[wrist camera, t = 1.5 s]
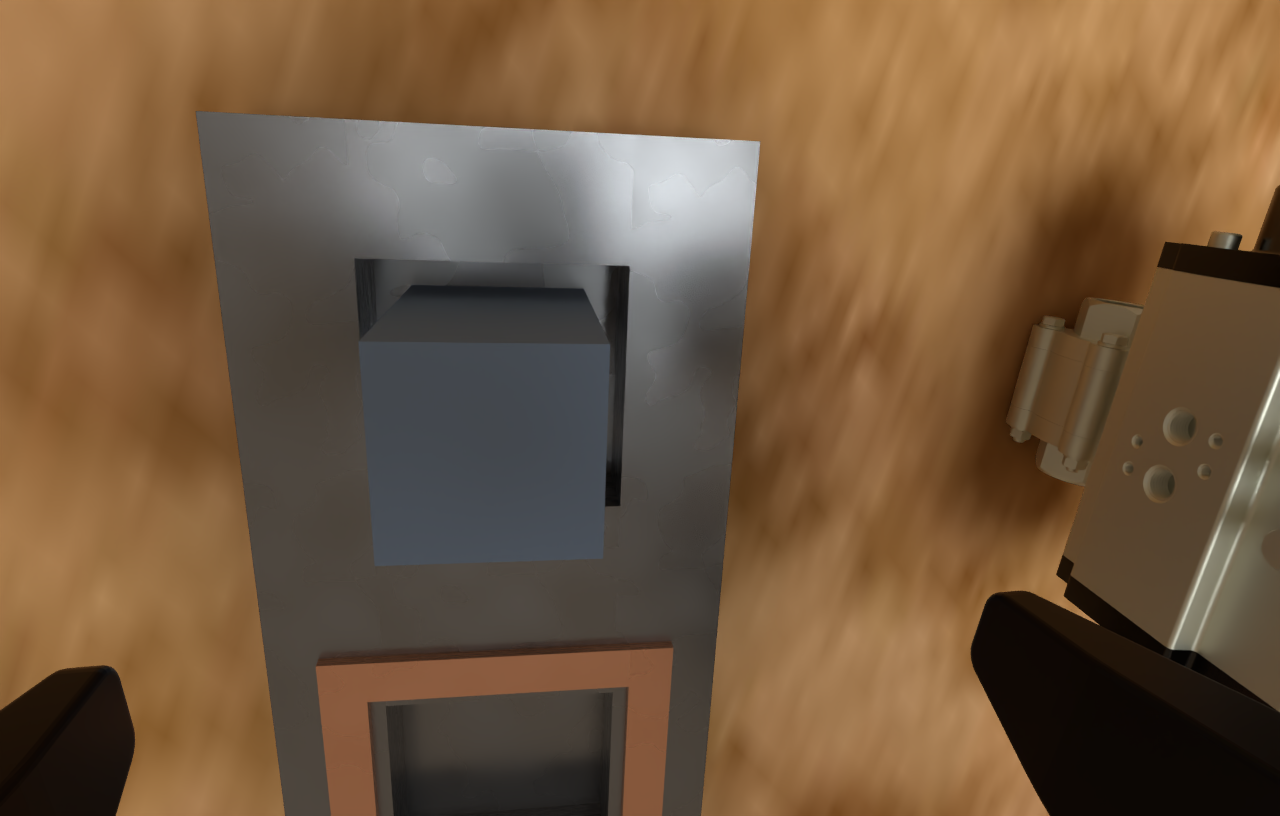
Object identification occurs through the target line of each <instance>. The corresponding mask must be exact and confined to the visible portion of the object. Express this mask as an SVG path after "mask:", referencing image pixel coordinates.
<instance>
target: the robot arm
mask: <svg viewBox="0 0 1280 816" xmlns="http://www.w3.org/2000/svg"><path fill="white" fill-rule="evenodd" d="M971 661H972V664H973V668H974V670H975V672H976V674H977V676H978V678H979V680H980V682H981V684H982V686H983V688H984V690H985V692H986V694H987V696H988V698H989V700H990V702H991V704H992V706H993V708H994V710H995V712H996V714H997V716H998V718H999V720H1000V722H1001V724H1002V726H1003V728H1004V730H1005V732H1006V734H1007V736H1008V738H1009V740H1010V742H1011V744H1012V746H1013V748H1014V750H1015V752H1016V754H1017V756H1018V758H1019V760H1020V762H1021V764H1022V766H1023V768H1024V770H1025V772H1026V774H1027V776H1028V778H1029V780H1030V781H1031V783H1032V785H1033V787H1034V789H1035V791H1036V793H1037V795H1038V796H1039V798H1040V800H1041V801H1042V803H1043V805H1044V807H1045V808H1046V810H1047V812H1048V813H1049V815H1050V816H1280V712H1278V711H1276V710H1274V709H1272V708H1270V707H1268V706H1266V705H1264V704H1262V703H1260V702H1257V701H1255V700H1253V699H1251V698H1249V697H1247V696H1245V695H1243V694H1241V693H1239V692H1237V691H1235V690H1233V689H1230V688H1228V687H1226V686H1224V685H1222V684H1220V683H1218V682H1216V681H1214V680H1212V679H1210V678H1208V677H1206V676H1203V675H1201V674H1199V673H1197V672H1195V671H1193V670H1191V669H1189V668H1187V667H1185V666H1183V665H1181V664H1179V663H1176V662H1174V661H1172V660H1170V659H1168V658H1166V657H1164V656H1162V655H1160V654H1158V653H1156V652H1154V651H1152V650H1149V649H1147V648H1145V647H1143V646H1141V645H1139V644H1137V643H1135V642H1133V641H1131V640H1129V639H1127V638H1125V637H1122V636H1120V635H1118V634H1116V633H1114V632H1112V631H1110V630H1108V629H1106V628H1104V627H1102V626H1100V625H1097V624H1095V623H1093V622H1091V621H1089V620H1087V619H1085V618H1083V617H1081V616H1079V615H1077V614H1075V613H1073V612H1070V611H1068V610H1066V609H1064V608H1062V607H1060V606H1058V605H1056V604H1054V603H1052V602H1050V601H1048V600H1046V599H1043V598H1041V597H1039V596H1037V595H1035V594H1033V593H1031V592H1027V591H1011V592H999V593H995V594H993V595H991V596H990V597H989V599H988V600H987V601H986V604H985V606H984V609H983V612H982V615H981V618H980V621H979V624H978V627H977V630H976V633H975V636H974V639H973V642H972V645H971ZM134 747H135V732H134V727H133V724H132V720H131V716H130V713H129V709H128V706H127V702H126V699H125V695H124V692H123V688H122V685H121V681H120V678H119V676H118V673H117V672H116V671H115V670H114V668H112V667H109V666H104V665H102V666H89V667H77V668H67V669H62V670H59V671H56V672H55V673H53V674H51V675H50V676H48V677H47V678H45V679H44V680H42V681H41V682H40V683H38V684H37V685H35V686H34V687H32V688H31V689H30V690H28V691H27V692H25V693H24V694H23V695H21V696H20V697H18V698H17V699H16V700H14V701H13V702H11V703H10V704H9V705H7V706H6V707H4V708H3V709H2V710H0V816H116V813H117V809H118V806H119V803H120V799H121V796H122V792H123V789H124V786H125V782H126V779H127V776H128V772H129V769H130V765H131V762H132V758H133V754H134Z"/></svg>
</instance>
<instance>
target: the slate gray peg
mask: <svg viewBox="0 0 1280 816" xmlns="http://www.w3.org/2000/svg"><path fill="white" fill-rule="evenodd" d="M359 356H360V370H361V384H362V398H363V412H364V426H365V440H366V454H367V468H368V482H369V495H370V509H371V523H372V537H373V551H374V565H375V566H393V565H424V564H454V563H485V562H515V561H546V560H576V559H603V546H604V516H605V485H606V455H607V425H608V395H609V364H610V343H609V341H608V339H607V337H606V334H605V332H604V330H603V328H602V326H601V324H600V322H599V320H598V318H597V315H596V313H595V311H594V309H593V307H592V305H591V303H590V301H589V298H588V296H587V294H586V292H585V290H584V289H576V288H530V287H485V286H440V285H411V286H410V287H409V288H408V290H407V291H406V292H405V293H404V294H403V295H402V296H401V297H400V298H399V299H398V300H397V301H396V302H395V303H394V304H393V305H392V307H391V308H390V309H389V310H388V311H387V312H386V313H385V314H384V315H383V316H382V317H381V318H380V319H379V320H378V321H377V322H376V323H375V325H374V326H373V327H372V328H371V329H370V330H369V331H368V332H367V333H366V334H365V335H364V336H363V337H362V338H361V339H360V340H359Z"/></svg>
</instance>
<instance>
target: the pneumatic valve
mask: <svg viewBox="0 0 1280 816" xmlns="http://www.w3.org/2000/svg"><path fill="white" fill-rule="evenodd" d="M1241 239H1242V235H1241V234H1235V233H1227V232H1217V231H1214V232H1212V233H1211V236H1210V239H1209V242H1208V245H1207V246H1199V245H1191V244H1183V243H1181V244H1179V243H1171V242H1165V244H1164V247H1163V250H1162V253H1161V256H1160V259H1159V262H1158V266H1157V267H1160V268H1157V269H1156V272H1155V275H1154V278H1153V281H1152V284H1151V287H1150V290H1149V293H1148V296H1147V299H1146V302H1145V305H1141V304H1135V303H1129V302H1123V301H1117V300H1110V299H1102V298H1092V297H1087V298H1085V299H1084V300H1083V301H1082V304H1081V307H1080V310H1079V314H1078V317H1077V320H1076V324H1075V327H1074V329H1066V328H1065V327H1064V324H1065V319H1063V318H1059V317H1054V316H1043V319H1042V322H1040V323H1039V325H1038V324H1034V325H1033V327H1032V331H1031V334H1030V338H1029V341H1028V345H1027V348H1026V352H1025V355H1024V359H1023V362H1022V366H1021V369H1020V373H1019V376H1018V380H1017V383H1016V387H1015V390H1014V394H1013V397H1012V401H1011V404H1010V408H1009V411H1008V415H1007V418H1006V423H1007V424H1009V425H1010V427H1011V430H1010V436H1012V437H1013V440H1014V441H1016V442H1020V443H1023V442H1024V441H1025V440H1030V437H1031V434H1032V435H1034V436H1035V437H1037V438H1039V439H1040V442H1039V446H1038V449H1037V452H1036V457H1035V460H1036V466H1037V468H1038V469H1039V470H1041V471H1042V472H1044V473H1045V474H1047V475H1049V476H1052V477H1054V478H1056V479H1059V480H1062V481H1065V482H1068V483H1071V484H1075V485H1079V486H1084V487H1085V488H1084V491H1083V494H1082V497H1081V500H1080V503H1079V506H1078V509H1077V513H1076V516H1075V519H1074V522H1073V525H1072V528H1071V531H1070V534H1069V537H1068V540H1067V543H1066V546H1065V549H1064V552H1063V555H1062V558H1061V561H1060V564H1059V567H1058V570H1057V573H1056V575H1057V576H1058V577H1060V578H1061V579H1062V580H1064V581H1065V582H1066V583H1067V587H1066V590H1065V593H1064V597H1065V598H1067V599H1068V600H1069V601H1070V602H1072V603H1073V604H1074V605H1075V606H1077V607H1078V608H1079V609H1080V610H1082V611H1083V612H1084V613H1085V614H1087V615H1088V616H1089V617H1090V618H1092V619H1093V620H1094V621H1095V622H1097V623H1098V624H1099V625H1100V626H1102V627H1104V628H1106V629H1108V630H1110V631H1112V632H1114V633H1116V634H1118V635H1120V636H1122V637H1125V638H1127V639H1129V640H1131V641H1133V642H1135V643H1137V644H1139V645H1141V646H1143V647H1145V648H1147V649H1149V650H1152V651H1154V652H1156V653H1158V654H1160V655H1162V656H1164V657H1166V658H1168V659H1170V660H1172V661H1174V662H1176V663H1179V664H1181V665H1183V666H1185V667H1187V668H1189V669H1191V670H1193V671H1195V672H1197V673H1199V674H1201V675H1203V676H1206V677H1208V678H1210V679H1212V680H1214V681H1216V682H1218V683H1220V684H1222V685H1224V686H1226V687H1228V688H1230V689H1233V690H1235V691H1237V692H1239V693H1241V694H1243V695H1245V696H1247V697H1249V698H1251V699H1253V700H1255V701H1257V702H1260V703H1262V704H1264V705H1266V706H1268V707H1270V708H1272V709H1274V710H1276V711H1278V712H1280V185H1279V186H1278V187H1277V188H1276V189H1275V192H1274V195H1273V197H1272V200H1271V203H1270V206H1269V208H1268V211H1267V214H1266V217H1265V219H1264V222H1263V225H1262V228H1261V230H1260V233H1259V236H1258V239H1257V242H1256V244H1255V247H1254V249H1253V250H1252V251H1241V250H1238V248H1239V245H1240V242H1241ZM1165 268H1167V269H1165ZM1172 269H1173V270H1172Z"/></svg>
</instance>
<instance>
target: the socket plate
mask: <svg viewBox="0 0 1280 816" xmlns="http://www.w3.org/2000/svg"><path fill="white" fill-rule="evenodd" d="M196 118H197V125H198V133H199V141H200V149H201V157H202V165H203V173H204V180H205V188H206V196H207V204H208V212H209V220H210V228H211V235H212V243H213V251H214V259H215V267H216V275H217V283H218V291H219V298H220V306H221V314H222V322H223V330H224V338H225V346H226V353H227V361H228V369H229V377H230V385H231V393H232V401H233V408H234V416H235V424H236V432H237V440H238V448H239V456H240V463H241V471H242V479H243V487H244V495H245V503H246V511H247V519H248V526H249V534H250V542H251V550H252V558H253V566H254V574H255V581H256V589H257V597H258V605H259V613H260V621H261V629H262V636H263V644H264V652H265V660H266V668H267V676H268V684H269V691H270V699H271V707H272V715H273V723H274V731H275V739H276V747H277V754H278V762H279V770H280V778H281V786H282V794H283V802H284V809H285V816H701V808H702V797H703V786H704V774H705V763H706V752H707V740H708V729H709V718H710V706H711V695H712V683H713V672H714V661H715V649H716V638H717V627H718V615H719V604H720V593H721V581H722V570H723V559H724V547H725V536H726V525H727V513H728V502H729V491H730V479H731V468H732V457H733V445H734V434H735V423H736V411H737V400H738V388H739V377H740V366H741V354H742V343H743V332H744V320H745V309H746V298H747V286H748V275H749V264H750V252H751V241H752V230H753V218H754V207H755V196H756V184H757V173H758V162H759V150H760V142H759V141H741V140H722V139H704V138H685V137H667V136H648V135H629V134H611V133H592V132H574V131H555V130H537V129H518V128H500V127H481V126H463V125H444V124H425V123H407V122H388V121H370V120H351V119H333V118H314V117H296V116H277V115H259V114H240V113H221V112H203V111H196ZM411 285H440V286H485V287H530V288H576V289H584V290H585V292H586V294H587V296H588V298H589V301H590V303H591V305H592V307H593V309H594V311H595V313H596V315H597V318H598V320H599V322H600V324H601V326H602V328H603V330H604V332H605V334H606V337H607V339H608V341H609V343H610V364H609V395H608V425H607V455H606V485H605V516H604V546H603V559H576V560H546V561H515V562H485V563H454V564H424V565H393V566H375V565H374V551H373V537H372V523H371V509H370V495H369V482H368V468H367V454H366V440H365V426H364V412H363V398H362V384H361V370H360V356H359V340H360V339H361V338H362V337H363V336H364V335H365V334H366V333H367V332H368V331H369V330H370V329H371V328H372V327H373V326H374V325H375V323H376V322H377V321H378V320H379V319H380V318H381V317H382V316H383V315H384V314H385V313H386V312H387V311H388V310H389V309H390V308H391V307H392V305H393V304H394V303H395V302H396V301H397V300H398V299H399V298H400V297H401V296H402V295H403V294H404V293H405V292H406V291H407V290H408V288H409V287H410V286H411Z"/></svg>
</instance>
